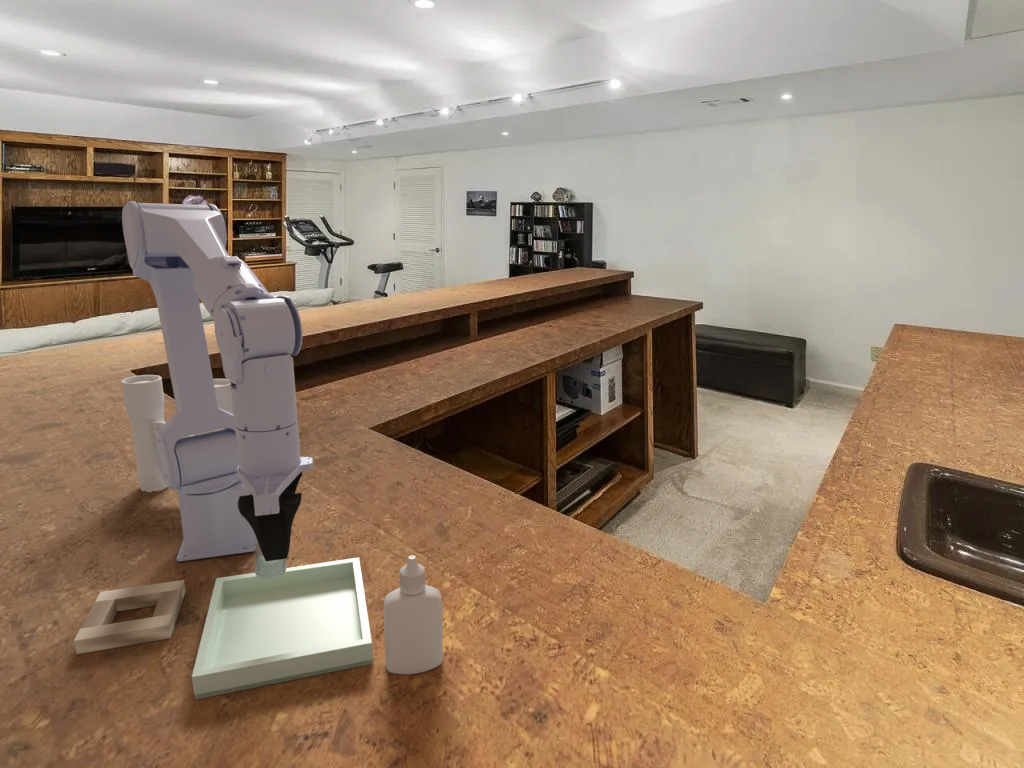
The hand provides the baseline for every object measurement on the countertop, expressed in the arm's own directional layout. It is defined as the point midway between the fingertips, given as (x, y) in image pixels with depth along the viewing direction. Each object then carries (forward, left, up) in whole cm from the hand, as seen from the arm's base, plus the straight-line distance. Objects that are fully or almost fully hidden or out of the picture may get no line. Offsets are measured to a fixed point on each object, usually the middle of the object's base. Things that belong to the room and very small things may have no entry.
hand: (277, 546), depth 62 cm
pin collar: (+16, -6, -10) cm, 19 cm away
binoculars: (+16, -40, -10) cm, 44 cm away
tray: (0, 0, -10) cm, 10 cm away
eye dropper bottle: (-12, +9, -10) cm, 19 cm away
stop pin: (+1, 0, -3) cm, 3 cm away
